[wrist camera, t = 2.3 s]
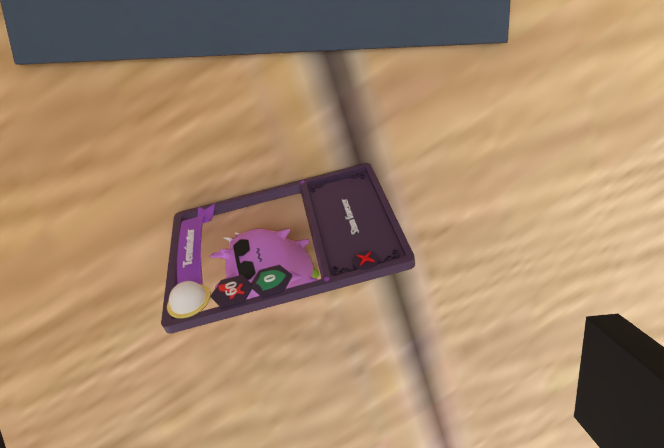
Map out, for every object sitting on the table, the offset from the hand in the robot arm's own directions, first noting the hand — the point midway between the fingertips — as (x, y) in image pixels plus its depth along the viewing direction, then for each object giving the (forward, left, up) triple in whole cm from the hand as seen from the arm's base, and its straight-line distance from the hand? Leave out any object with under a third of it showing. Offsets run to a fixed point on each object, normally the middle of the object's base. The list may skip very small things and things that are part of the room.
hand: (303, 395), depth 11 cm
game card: (0, 0, -13) cm, 13 cm away
